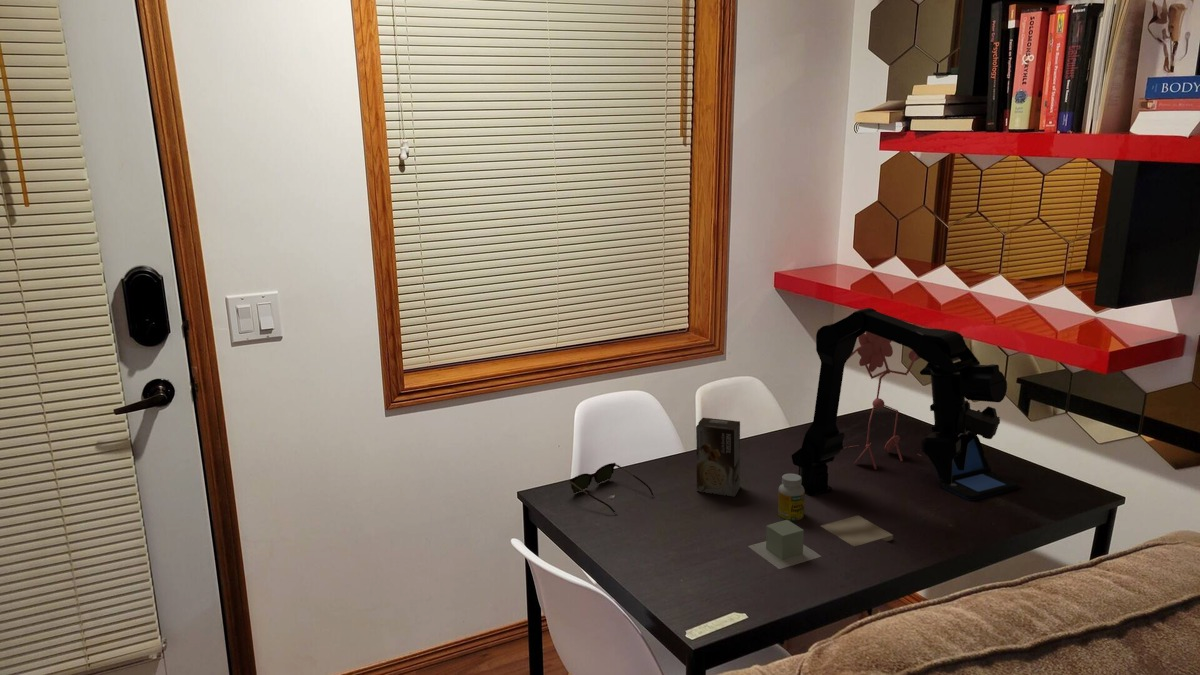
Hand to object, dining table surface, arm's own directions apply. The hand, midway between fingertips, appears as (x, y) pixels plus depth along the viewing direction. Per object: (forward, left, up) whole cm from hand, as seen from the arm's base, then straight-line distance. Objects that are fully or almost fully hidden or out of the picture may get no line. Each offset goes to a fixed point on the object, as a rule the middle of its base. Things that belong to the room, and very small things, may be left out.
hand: (954, 476), depth 163 cm
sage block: (-12, -31, -13) cm, 36 cm away
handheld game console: (-18, +27, -15) cm, 35 cm away
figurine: (-42, +18, -15) cm, 48 cm away
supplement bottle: (-24, -20, -15) cm, 34 cm away
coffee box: (-44, -25, -15) cm, 53 cm away
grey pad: (-12, -31, -14) cm, 36 cm away
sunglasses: (-51, -48, -15) cm, 72 cm away
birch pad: (-12, -13, -14) cm, 23 cm away
